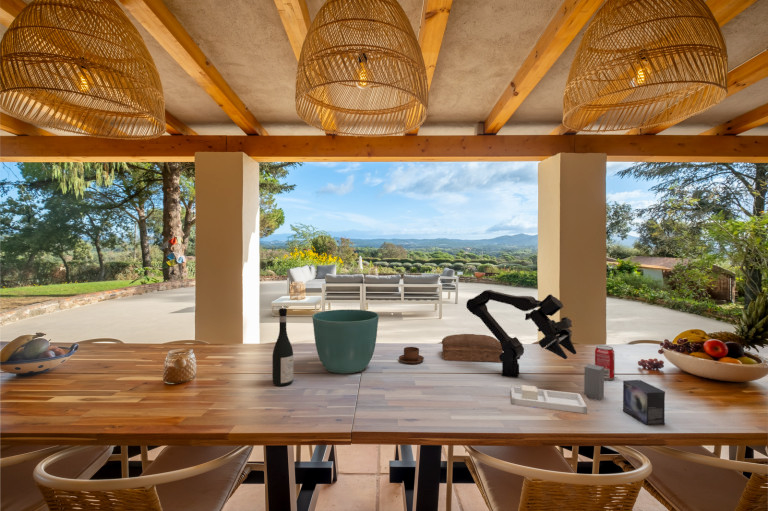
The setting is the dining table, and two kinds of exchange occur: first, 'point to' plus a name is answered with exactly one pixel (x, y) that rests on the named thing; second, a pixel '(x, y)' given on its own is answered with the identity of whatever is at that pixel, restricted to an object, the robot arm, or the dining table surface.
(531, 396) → the cream block
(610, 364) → the soda can
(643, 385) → the small box
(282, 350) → the wine bottle
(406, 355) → the cup and saucer
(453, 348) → the bread
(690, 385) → the dining table surface
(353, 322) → the flower pot
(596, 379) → the charcoal block
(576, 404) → the white divided tray
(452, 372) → the dining table surface
